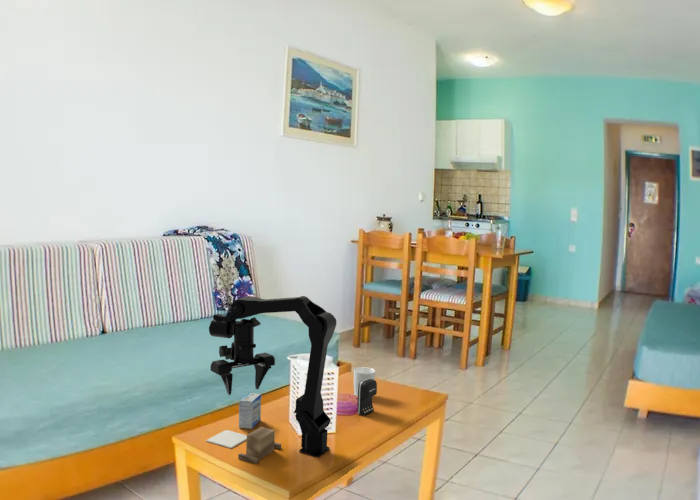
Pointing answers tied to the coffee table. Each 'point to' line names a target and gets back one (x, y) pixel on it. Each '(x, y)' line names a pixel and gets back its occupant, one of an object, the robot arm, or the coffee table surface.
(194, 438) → the coffee table surface
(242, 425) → the medicine box
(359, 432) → the coffee table surface
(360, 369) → the white cup
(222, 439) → the plate
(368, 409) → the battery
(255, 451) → the block
